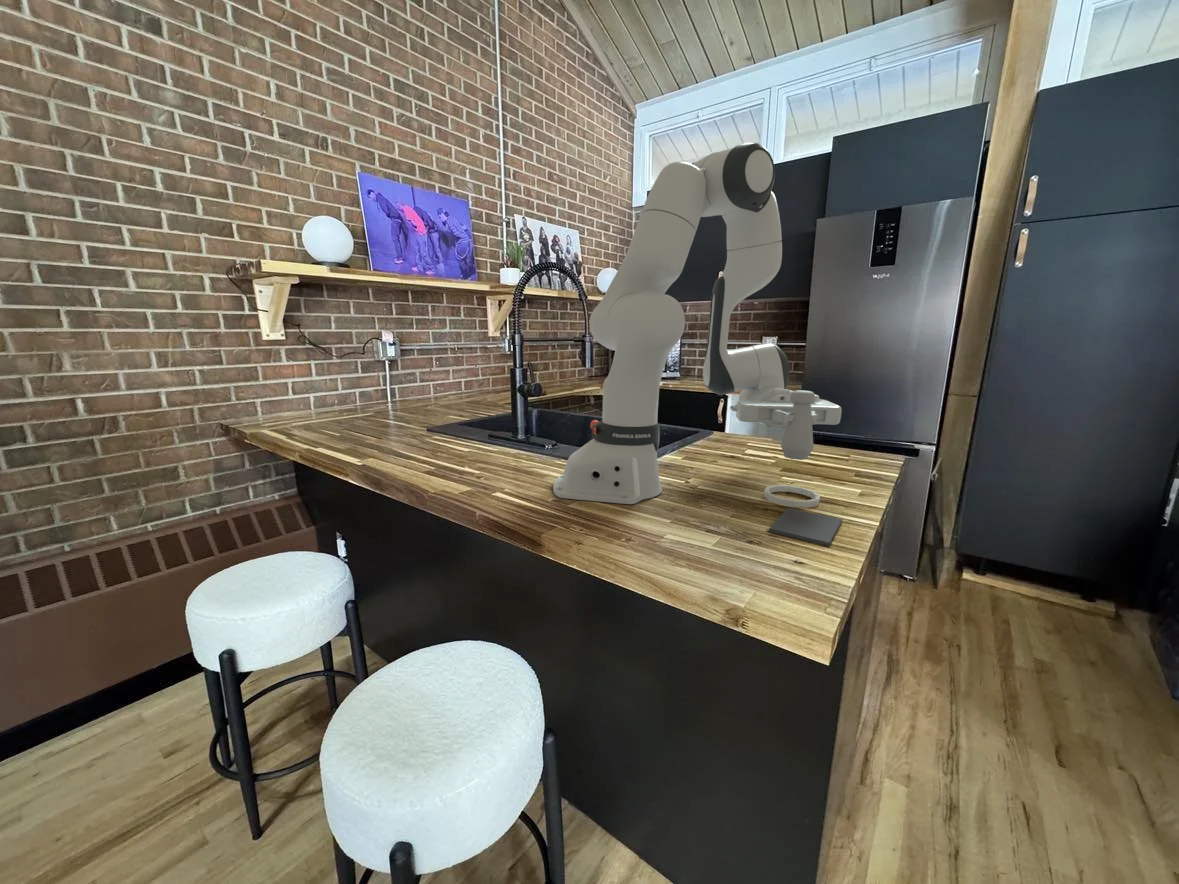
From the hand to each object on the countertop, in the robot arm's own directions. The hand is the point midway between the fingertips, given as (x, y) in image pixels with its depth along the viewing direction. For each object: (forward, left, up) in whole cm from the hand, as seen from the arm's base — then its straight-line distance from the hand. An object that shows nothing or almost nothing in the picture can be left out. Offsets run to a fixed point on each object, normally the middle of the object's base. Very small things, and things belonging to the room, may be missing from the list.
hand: (801, 418), depth 89 cm
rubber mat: (-3, -13, -16) cm, 21 cm away
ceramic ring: (0, +1, -16) cm, 16 cm away
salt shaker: (0, +1, -8) cm, 8 cm away
